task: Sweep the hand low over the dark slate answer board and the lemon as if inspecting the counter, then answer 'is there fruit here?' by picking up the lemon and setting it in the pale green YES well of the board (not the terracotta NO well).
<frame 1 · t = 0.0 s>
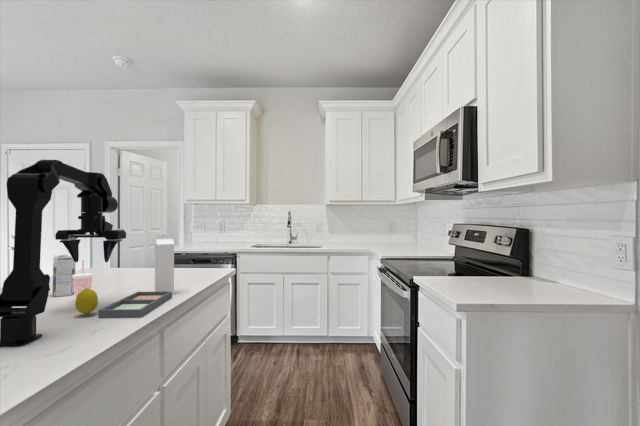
hand: (91, 262, 110), 15 cm above the counter, tool pointing down, fingers open, 9 cm apart
lemon: (86, 315, 103), on the counter
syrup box: (64, 295, 128), on the counter
milk: (164, 294, 130), on the counter
beverage cup: (82, 301, 120), on the counter
answer board: (139, 306, 112), on the counter
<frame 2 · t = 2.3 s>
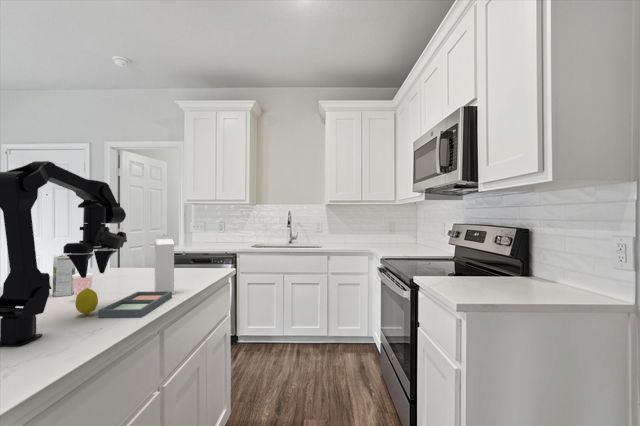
hand: (93, 275, 105), 11 cm above the counter, tool pointing down, fingers open, 9 cm apart
nothing on the counter moved.
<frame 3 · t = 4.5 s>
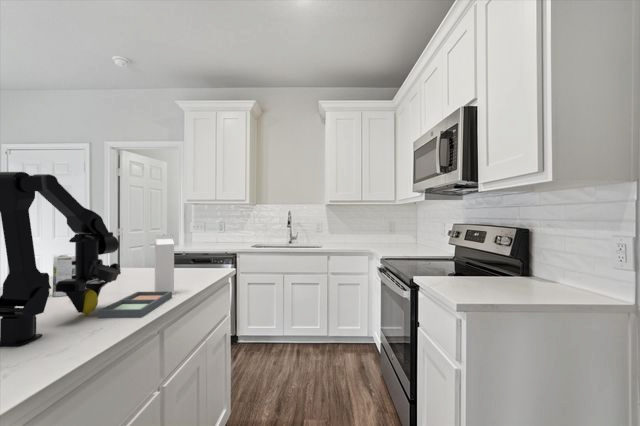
hand: (86, 309, 103), 2 cm above the counter, tool pointing down, fingers closed on lemon, 5 cm apart
lemon: (86, 315, 103), on the counter, touching gripper
everything else where it was.
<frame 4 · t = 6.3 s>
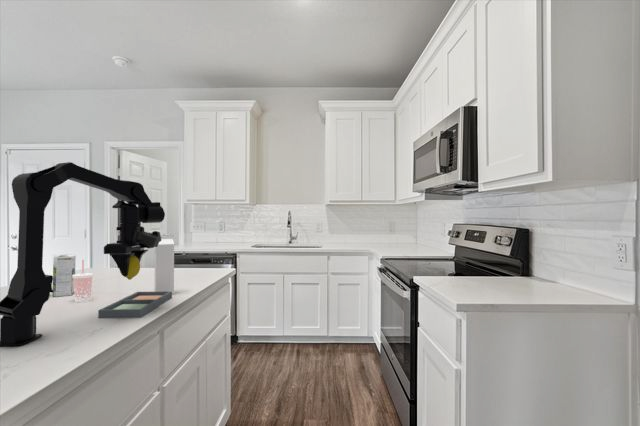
hand: (130, 274, 106), 11 cm above the counter, tool pointing down, fingers closed on lemon, 5 cm apart
lemon: (129, 280, 106), point 10 cm above the counter, touching gripper
everything else where it was.
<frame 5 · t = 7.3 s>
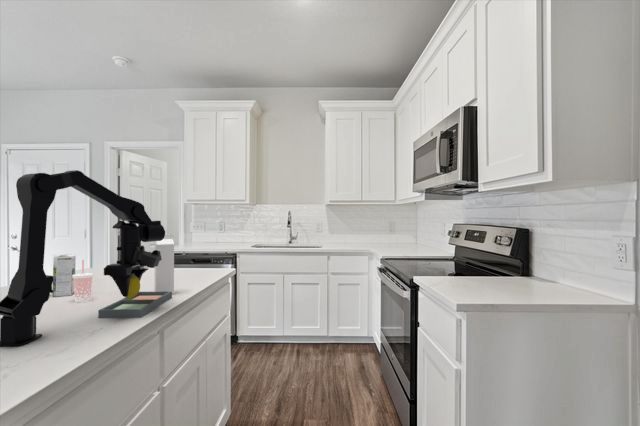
hand: (130, 294, 106), 5 cm above the counter, tool pointing down, fingers closed on lemon, 5 cm apart
lemon: (129, 300, 106), point 4 cm above the counter, touching gripper
everything else where it was.
when the fingers open (4 cm above the counter, at t = 8.1 s): lemon stays where it is, resting on answer board.
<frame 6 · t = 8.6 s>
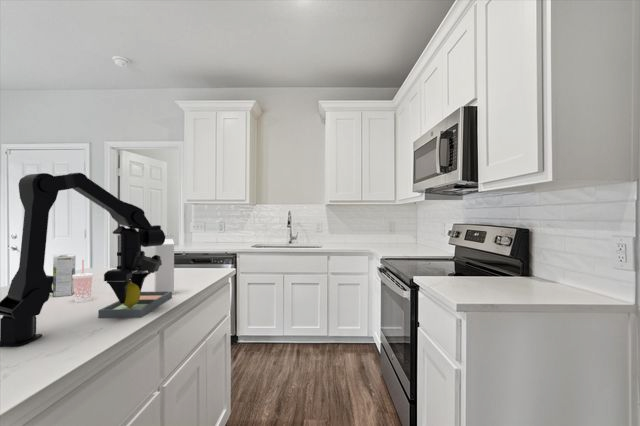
hand: (130, 299, 106), 4 cm above the counter, tool pointing down, fingers open, 9 cm apart
lemon: (130, 308, 106), point 1 cm above the counter, touching answer board
everything else where it was.
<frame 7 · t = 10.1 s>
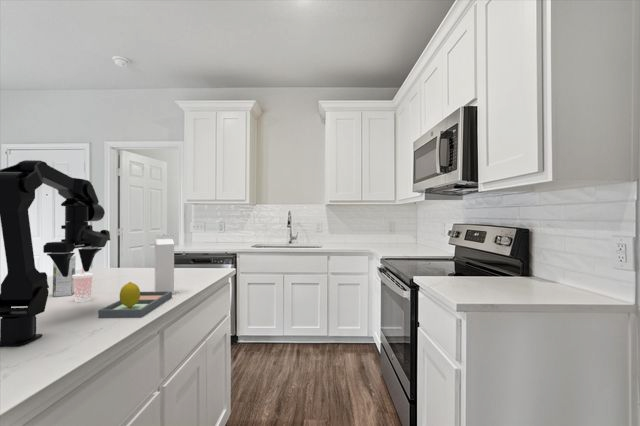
hand: (76, 274, 104), 12 cm above the counter, tool pointing down, fingers open, 9 cm apart
nothing on the counter moved.
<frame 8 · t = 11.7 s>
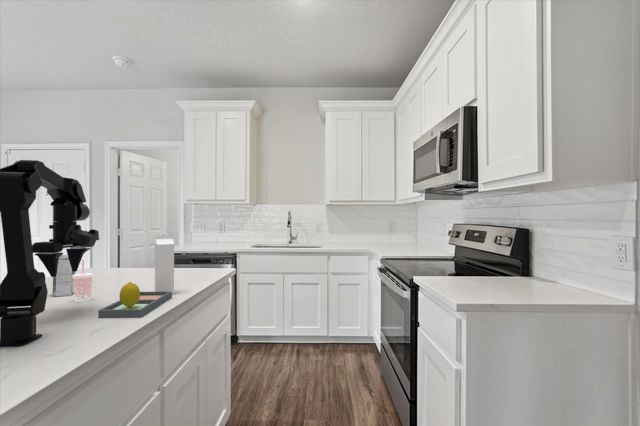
hand: (64, 274, 103), 12 cm above the counter, tool pointing down, fingers open, 9 cm apart
nothing on the counter moved.
at the end: lemon inside the target area on the answer board (0.2 cm from its centre), point 0.9 cm above the answer board's base; the gripper is holding nothing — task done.
